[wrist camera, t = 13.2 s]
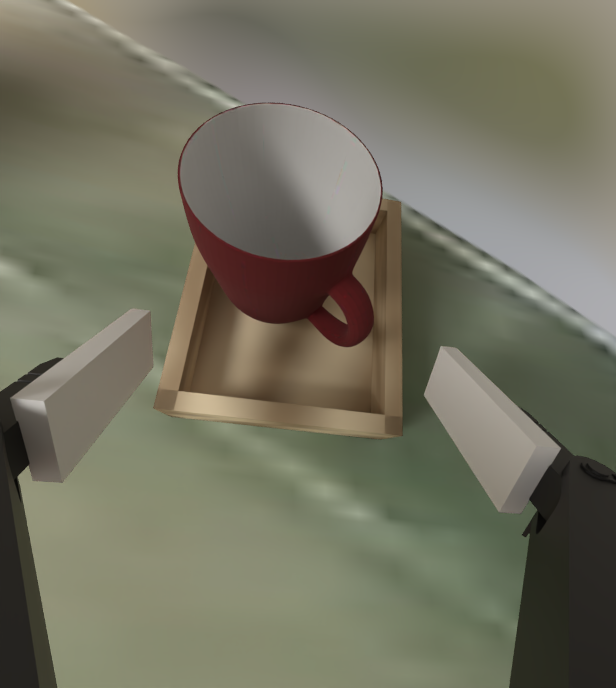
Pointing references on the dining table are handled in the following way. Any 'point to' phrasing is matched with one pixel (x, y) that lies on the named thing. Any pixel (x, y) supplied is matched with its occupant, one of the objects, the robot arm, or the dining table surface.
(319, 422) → the wooden tray
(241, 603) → the dining table surface
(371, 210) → the mug
